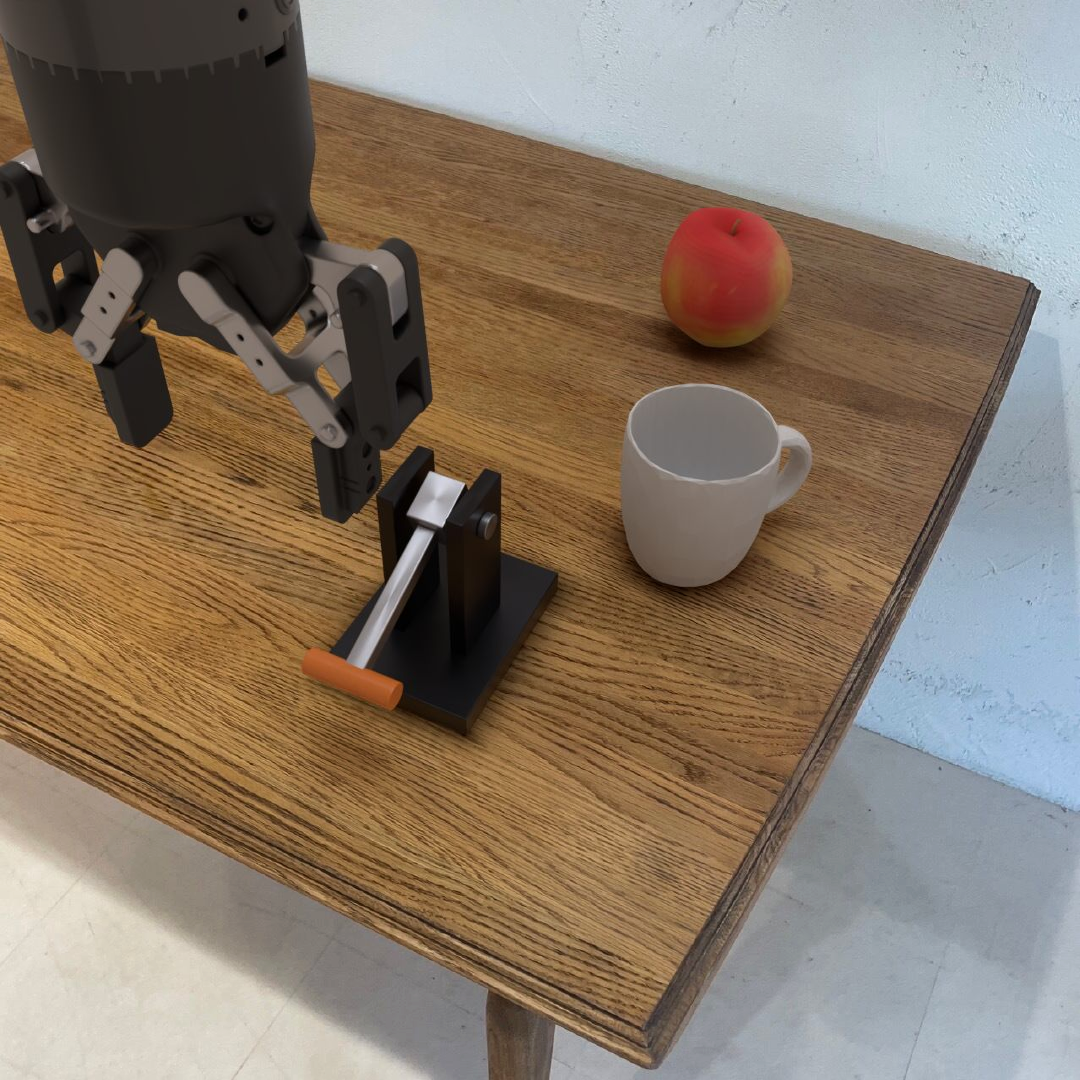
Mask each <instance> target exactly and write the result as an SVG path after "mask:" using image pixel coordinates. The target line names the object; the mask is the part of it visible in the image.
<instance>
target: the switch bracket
mask: <svg viewBox="0 0 1080 1080" xmlns="http://www.w3.org/2000/svg"><path fill="white" fill-rule="evenodd" d="M435 464H436V463H435V451H434V450H433V449H431V448H428V447H425V446H422V445H420V444H417V446H416V447H415V448H414V449H413V451H411V453H410V454H409V455H407V457H406V458H405V460H404V461H403V462H402V463H401V464H400V466H398V468H397V469H396V470H395V471H394V473H393V474H392V475H391V476H390V478H389V479H388V480H387V481H386V482H385V483H384V484H383V485H382V487H381V488H379V490H378V491H377V492H376V493H375V502H376V512H377V521H378V523H377V524H378V531H379V533H378V534H379V543H380V551H381V559H382V560H381V561H382V572H383V582H382V584H381V585H379V587H378V589H377V590H376V591H375V592H374V593H373V595H372V597H370V599H369V600H368V602H367V603H366V604H365V606H364V607H363V608H362V609H361V611H360V612H359V613H358V615H357V616H356V617H355V618H354V620H353V621H352V622H351V624H350V625H349V626H348V628H347V629H346V630H345V631H344V632H343V634H342V635H341V636H340V638H339V639H338V640H337V641H336V643H335V644H334V645H333V647H332V648H331V649H330V651H329V652H328V653H331V654H333V655H336V656H338V657H340V658H343V659H345V660H347V658H348V656H349V654H350V652H351V650H352V648H353V647H354V645H355V643H356V641H357V639H358V637H359V635H360V633H361V631H362V629H363V628H364V626H365V624H366V622H367V620H368V618H369V616H370V614H371V612H372V611H373V609H374V607H375V605H376V603H377V601H378V599H379V597H380V595H381V593H382V592H383V590H384V588H385V586H386V584H387V582H388V580H389V578H390V576H391V575H392V573H393V571H394V569H395V567H396V565H397V563H398V561H399V559H400V557H401V556H402V554H403V552H404V550H405V548H406V546H407V544H408V542H409V540H410V539H411V537H412V535H413V533H414V529H413V528H412V526H411V524H410V522H409V520H408V518H407V516H406V513H407V511H408V510H409V508H410V506H411V504H412V502H413V500H414V498H415V496H416V495H417V493H418V491H419V489H420V487H421V485H422V483H423V481H424V480H425V478H426V476H427V474H428V472H429V471H432V472H435V473H436V470H435V469H436V467H435ZM445 527H446V545H444V544H441V543H438V542H437V544H436V546H435V548H434V550H433V552H432V554H431V556H430V558H429V560H428V562H427V564H426V566H425V568H424V569H423V571H422V573H421V575H420V577H419V579H418V581H417V583H416V585H415V587H414V589H413V591H412V593H411V595H410V597H409V598H408V600H407V602H406V604H405V606H404V608H403V610H402V612H401V614H400V616H399V618H398V620H397V622H396V624H395V626H394V627H393V629H392V631H391V633H390V635H389V637H388V639H387V641H386V643H385V645H384V647H383V649H382V651H381V653H380V655H379V656H378V658H377V660H376V662H375V664H374V666H373V668H372V671H375V672H377V673H379V674H382V675H384V676H387V677H389V678H392V679H394V680H397V681H399V682H401V683H402V684H403V691H402V695H401V698H400V700H399V702H398V704H397V705H396V706H395V708H396V707H397V708H399V709H401V710H404V711H406V712H408V713H411V714H413V715H416V716H418V717H420V718H422V719H425V720H428V721H429V722H432V723H435V724H437V725H440V726H442V727H444V728H447V729H450V730H451V731H454V732H457V733H458V734H461V735H464V736H467V735H468V734H469V732H470V730H471V729H472V727H473V725H474V724H475V722H476V720H477V719H478V718H479V716H480V714H481V713H482V711H483V709H484V708H485V706H486V705H487V704H488V701H489V700H490V698H491V697H492V695H493V694H494V692H495V690H496V689H497V687H498V686H499V684H500V682H501V681H502V679H503V678H504V676H505V674H506V673H507V671H508V669H509V668H510V666H511V665H512V664H513V661H514V660H515V658H516V657H517V655H518V654H519V652H520V650H521V648H522V647H523V646H524V644H525V642H526V641H527V639H528V638H529V635H531V633H532V631H533V630H534V628H535V626H536V624H537V623H538V621H539V620H540V618H541V616H542V615H543V613H544V612H545V610H546V609H547V607H548V605H549V604H550V602H551V601H552V599H553V597H554V595H555V594H556V593H557V591H558V589H559V572H558V571H554V570H551V569H549V568H546V567H543V566H541V565H538V564H535V563H533V562H530V561H527V560H524V559H521V558H519V557H516V556H514V555H511V554H508V553H505V552H502V473H501V472H498V471H497V470H496V471H495V470H492V469H490V468H486V467H485V468H484V469H483V470H482V471H481V473H480V474H479V475H478V476H477V478H476V479H475V480H474V481H473V483H472V484H471V486H470V487H469V488H468V491H467V492H466V494H465V495H464V496H463V497H462V499H461V500H460V501H459V503H458V504H457V505H456V507H455V508H454V509H453V511H452V512H451V513H450V515H449V516H448V517H447V518H446V520H445Z"/></svg>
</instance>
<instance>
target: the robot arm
mask: <svg viewBox="0 0 1080 1080" xmlns="http://www.w3.org/2000/svg"><path fill="white" fill-rule="evenodd" d="M302 22H303V21H302V13H301V4H300V0H0V40H1V43H2V46H3V49H4V53H5V56H6V59H7V63H8V66H9V69H10V72H11V76H12V80H13V83H14V86H15V89H16V93H17V97H18V99H19V103H20V106H21V110H22V112H23V115H24V119H25V122H26V126H27V129H28V132H29V136H30V138H31V143H32V145H33V146H32V147H31V148H29V149H27V150H25V151H23V152H22V153H20V154H18V155H16V156H15V157H13V158H12V159H10V160H8V161H6V162H5V163H3V164H1V165H0V230H1V234H2V236H3V240H4V243H5V247H6V250H7V251H6V252H7V254H8V256H9V260H10V264H11V267H12V271H13V274H14V278H15V280H16V284H17V288H18V291H19V295H20V297H21V301H22V304H23V309H24V312H25V314H26V317H27V319H28V320H29V322H30V323H31V324H32V325H33V326H34V327H35V328H36V329H37V330H39V331H40V332H42V333H44V334H48V335H50V334H53V333H54V332H56V331H57V330H61V331H62V332H64V333H65V334H67V336H70V337H72V345H73V348H74V349H75V350H76V352H77V353H78V354H79V356H80V357H81V358H82V359H83V360H85V361H86V362H88V363H90V364H91V366H92V368H93V372H94V376H95V378H96V381H97V386H98V389H99V390H100V394H101V398H102V399H103V404H104V407H105V410H106V413H107V415H108V417H109V418H110V419H111V422H112V423H113V424H114V426H115V428H116V432H117V435H118V438H119V440H120V441H121V442H122V443H125V444H127V445H130V446H132V447H136V448H138V449H142V448H145V447H146V446H147V445H149V443H151V442H152V441H153V440H154V439H155V438H156V437H157V436H158V435H160V434H162V432H163V431H164V430H165V429H166V428H167V427H169V426H170V425H171V422H172V421H173V418H174V414H175V413H174V406H173V402H172V398H171V394H170V391H169V387H168V383H167V379H166V375H165V370H164V366H163V363H162V359H161V355H160V352H159V348H158V343H157V339H156V336H154V335H153V334H152V335H151V334H148V333H146V332H143V331H142V330H143V329H145V328H146V327H147V326H148V325H149V323H150V322H151V320H154V322H155V324H156V329H157V330H159V331H162V332H164V333H167V334H169V335H170V334H171V335H173V336H176V337H185V338H186V337H187V338H197V339H199V340H201V341H202V342H204V343H205V344H207V345H209V346H211V347H213V348H215V349H217V350H218V351H220V352H221V351H222V352H224V353H227V354H230V355H232V356H236V357H239V358H240V360H241V361H242V362H243V364H244V365H245V366H246V368H247V369H248V370H249V372H250V373H251V374H252V376H253V377H254V378H255V379H256V381H257V382H258V383H259V385H260V386H261V387H262V389H264V391H265V392H266V393H267V394H269V395H272V396H284V397H285V398H287V400H288V401H289V402H290V404H291V405H292V407H293V408H294V409H295V411H296V412H297V413H298V414H299V416H300V418H302V420H304V422H305V423H306V425H307V427H309V429H310V430H311V431H312V433H313V435H315V436H314V437H313V438H312V439H311V440H310V446H311V453H312V461H313V465H314V473H315V480H316V486H317V494H318V500H319V506H320V513H321V516H322V517H323V518H325V519H327V520H330V521H332V522H336V523H338V524H341V525H344V524H345V523H347V522H348V521H349V520H350V519H351V517H353V515H358V514H359V513H360V512H361V511H362V509H363V508H364V507H365V506H366V505H367V504H368V502H369V501H370V500H371V499H372V498H373V496H374V495H376V494H377V493H378V491H379V490H380V487H381V485H382V483H383V480H384V479H383V470H382V469H383V468H382V459H381V451H390V450H391V449H392V448H393V447H394V446H395V445H396V444H397V443H398V441H400V439H401V438H402V435H403V434H404V433H405V431H406V430H407V429H408V428H409V427H410V426H411V425H412V424H413V422H414V421H415V420H416V419H417V418H418V417H419V415H420V414H422V413H424V412H425V410H427V408H428V407H429V406H430V405H431V404H432V403H433V399H434V394H433V386H432V375H431V368H430V367H431V366H430V360H429V359H430V357H429V351H428V349H429V348H428V341H427V333H426V332H427V330H426V323H425V314H424V313H425V312H424V306H423V305H424V304H423V295H422V288H421V287H422V286H421V279H420V278H421V277H420V268H419V260H418V256H417V254H416V252H415V250H414V248H413V247H412V246H411V245H410V244H409V243H408V242H406V241H405V240H403V239H401V238H397V237H389V238H387V239H385V240H384V241H383V242H382V243H381V244H380V245H378V247H376V248H375V249H373V250H366V249H362V248H358V247H354V246H351V245H345V244H341V243H336V242H332V241H330V240H329V238H328V236H327V234H326V232H325V230H324V228H323V227H322V225H321V223H320V221H319V219H318V217H317V214H316V212H315V210H314V207H313V204H312V201H311V190H312V189H311V187H312V180H313V179H312V178H313V174H314V173H313V172H314V168H315V167H314V166H315V159H316V151H317V150H316V147H317V143H316V135H315V133H316V132H315V126H314V116H313V107H312V99H311V91H310V82H309V75H308V73H309V72H308V65H307V58H306V57H307V56H306V49H305V41H304V31H303V23H302ZM96 254H97V255H98V257H99V258H100V259H101V260H102V261H103V262H102V264H101V266H100V268H99V266H98V262H97V261H98V260H97V258H96ZM59 264H60V266H61V270H62V273H63V274H62V275H63V278H61V279H60V280H58V281H57V282H55V279H54V270H55V268H56V267H57V266H58V265H59ZM99 269H100V271H99ZM296 314H298V316H299V317H300V319H301V321H302V322H303V324H304V329H305V330H304V331H305V333H304V336H303V338H302V339H301V340H300V341H299V342H298V343H297V344H296V345H295V346H293V348H291V349H290V350H289V351H288V352H286V351H284V350H283V349H282V348H281V346H280V345H279V343H277V341H276V340H275V338H274V337H275V336H276V335H277V334H278V333H280V331H282V329H284V328H285V327H286V326H287V325H288V324H289V323H290V321H291V320H292V319H293V317H294V316H295V315H296ZM321 366H322V367H323V368H324V370H325V371H326V372H327V373H328V375H329V376H330V378H331V379H332V380H333V382H334V383H335V384H336V386H337V387H338V389H339V390H340V391H339V392H338V393H336V395H335V397H332V396H331V394H330V393H329V391H328V390H327V389H326V387H325V386H324V385H323V383H322V382H321V381H320V379H319V377H318V370H319V368H320V367H321Z"/></svg>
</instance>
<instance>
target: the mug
mask: <svg viewBox="0 0 1080 1080" xmlns="http://www.w3.org/2000/svg"><path fill="white" fill-rule="evenodd" d="M783 449H789V451H790V452H789V455H788V458H787V461H786V463H785V465H784V466H783V468H782V469H781V471H779V468H780V462H781V457H782V450H783ZM620 462H621V463H620V472H619V473H620V474H619V475H620V477H619V478H620V481H619V482H620V483H619V484H620V485H619V487H620V505H621V518H622V522H623V527H624V532H625V536H626V542H627V544H628V547H629V550H630V552H631V553H632V555H633V557H634V559H635V561H636V563H637V564H638V565H639V567H641V569H642V570H643V571H644V572H645V573H646V574H648V575H649V576H650V577H651V578H652V579H654V580H656V581H658V582H660V583H663V584H667V585H670V586H675V587H681V588H697V587H701V586H706V585H710V584H713V583H715V582H717V581H720V580H722V579H723V578H725V577H726V576H728V575H729V574H730V573H731V572H732V571H734V570H735V569H736V568H737V567H738V565H739V564H740V563H741V562H742V561H743V559H744V558H745V557H746V555H747V554H748V552H749V550H750V548H751V547H752V545H753V544H754V541H755V539H756V537H757V536H758V533H759V531H760V529H761V527H762V523H763V521H764V518H765V515H767V514H770V513H772V512H774V511H775V510H777V509H779V508H780V507H781V506H783V505H784V504H786V503H787V502H788V501H789V500H791V499H792V498H793V496H795V494H796V493H798V491H800V489H801V487H802V485H803V484H804V483H805V481H806V479H807V478H808V475H809V474H810V471H811V468H812V464H813V463H812V462H813V453H812V448H811V444H810V443H809V441H808V440H807V439H806V437H805V435H804V434H803V433H801V432H800V431H798V430H796V429H795V428H792V427H790V426H787V425H784V424H782V425H781V424H780V425H778V424H777V423H776V421H775V419H774V418H773V416H772V414H771V413H770V411H769V410H768V409H766V407H764V406H763V404H761V402H759V401H758V400H756V399H754V398H753V397H751V396H750V395H748V394H746V393H744V392H742V391H740V390H737V389H734V388H731V387H729V386H725V385H719V384H713V383H694V382H693V383H691V382H689V383H683V384H677V385H671V386H665V387H661V388H658V389H657V390H654V391H652V392H649V393H647V394H645V395H644V396H643V397H641V398H640V399H639V400H638V401H637V402H635V404H634V405H633V406H632V409H630V411H629V413H628V418H627V422H626V425H625V430H624V434H623V443H622V453H621V461H620Z"/></svg>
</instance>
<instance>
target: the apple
mask: <svg viewBox="0 0 1080 1080" xmlns="http://www.w3.org/2000/svg"><path fill="white" fill-rule="evenodd" d="M793 272H794V271H793V263H792V259H791V256H790V252H789V249H788V248H787V246H786V244H785V242H784V240H783V239H782V237H781V236H780V234H779V233H778V231H777V230H776V229H775V228H774V227H773V225H772V224H771V223H769V221H767V219H765V218H763V217H761V216H759V215H758V214H755V213H753V212H751V211H747V210H743V209H739V208H734V207H725V206H723V207H722V206H720V207H719V206H717V207H716V206H715V207H705V208H698V209H696V210H694V211H691V212H690V213H689V214H688V215H687V216H686V217H685V218H684V219H683V220H682V221H681V223H680V224H679V225H678V227H677V228H676V230H675V232H674V234H673V235H672V237H671V238H670V241H669V244H668V246H667V248H666V251H665V254H664V258H663V262H662V266H661V272H660V282H659V283H660V284H659V286H660V287H659V289H660V295H661V296H660V297H661V301H662V306H663V308H664V310H665V312H666V314H667V316H668V317H669V319H670V320H671V322H672V323H673V324H674V325H675V326H676V327H677V328H678V329H679V330H680V331H682V333H684V334H685V335H687V336H688V337H689V338H691V340H693V341H695V342H696V343H698V344H700V345H702V346H705V347H708V348H734V347H738V346H742V345H745V344H748V343H750V342H752V341H754V340H756V339H758V338H759V337H760V336H761V335H763V334H764V333H765V332H766V331H767V330H768V329H769V328H770V327H772V325H773V324H775V322H776V320H777V319H778V318H779V316H780V315H781V313H782V312H783V310H784V308H785V307H786V305H787V302H788V300H789V298H790V294H791V291H792V286H793V280H794V274H793Z"/></svg>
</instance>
